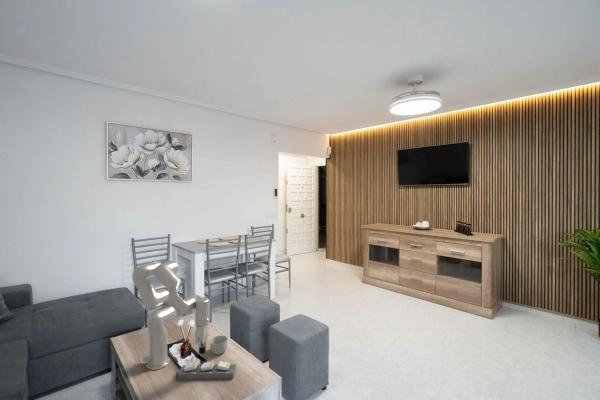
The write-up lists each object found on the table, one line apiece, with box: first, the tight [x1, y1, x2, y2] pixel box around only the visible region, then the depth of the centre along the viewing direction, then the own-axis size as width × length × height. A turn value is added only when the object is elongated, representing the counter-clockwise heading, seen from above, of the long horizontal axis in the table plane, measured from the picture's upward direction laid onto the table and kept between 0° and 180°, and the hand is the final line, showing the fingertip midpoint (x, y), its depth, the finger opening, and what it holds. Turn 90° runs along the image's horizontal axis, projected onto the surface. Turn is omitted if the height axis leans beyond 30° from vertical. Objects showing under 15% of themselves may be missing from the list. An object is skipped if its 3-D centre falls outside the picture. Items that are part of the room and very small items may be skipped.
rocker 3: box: [217, 360, 231, 370], centre depth 159 cm, size 6×4×2 cm
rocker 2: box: [201, 361, 215, 371], centre depth 159 cm, size 6×4×2 cm
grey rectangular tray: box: [176, 363, 237, 381], centre depth 159 cm, size 32×8×4 cm, turn 92°
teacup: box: [209, 333, 228, 355], centre depth 183 cm, size 14×11×8 cm
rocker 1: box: [184, 361, 199, 371], centre depth 158 cm, size 6×4×2 cm
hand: (202, 353), depth 158 cm, fingers closed
